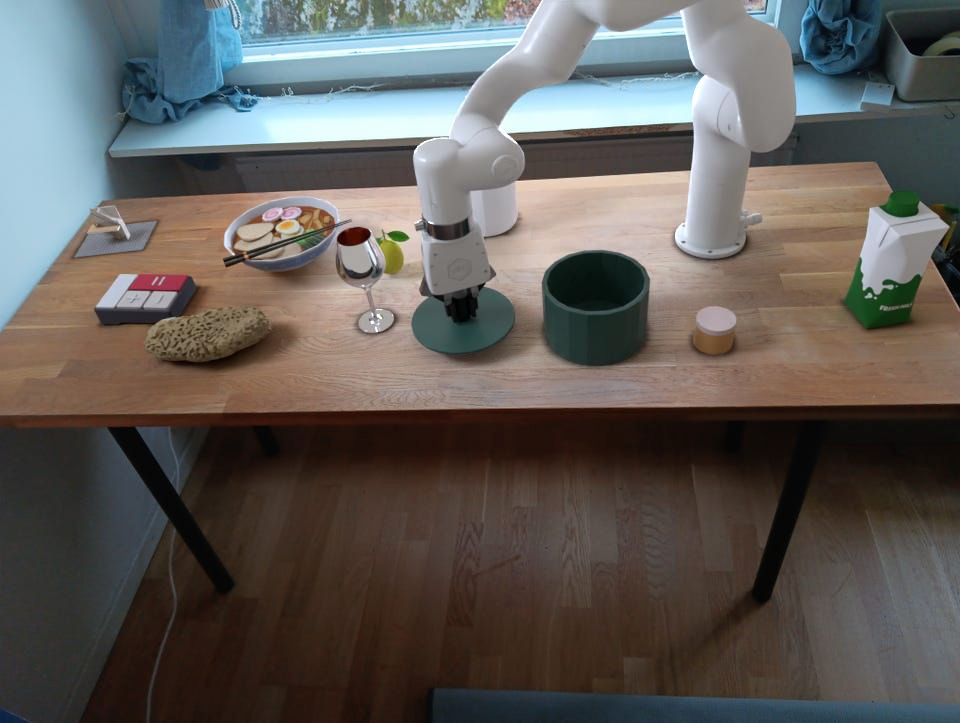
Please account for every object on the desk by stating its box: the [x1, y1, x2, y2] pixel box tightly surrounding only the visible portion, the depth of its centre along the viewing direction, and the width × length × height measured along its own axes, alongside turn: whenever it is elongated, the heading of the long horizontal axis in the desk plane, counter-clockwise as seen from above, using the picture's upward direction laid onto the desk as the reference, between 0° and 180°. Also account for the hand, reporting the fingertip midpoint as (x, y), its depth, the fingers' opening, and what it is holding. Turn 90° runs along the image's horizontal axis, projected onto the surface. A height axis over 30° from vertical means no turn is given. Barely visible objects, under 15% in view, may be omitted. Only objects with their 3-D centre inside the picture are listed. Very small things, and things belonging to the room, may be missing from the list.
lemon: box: [374, 229, 411, 275], centre depth 135 cm, size 7×6×10 cm
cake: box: [692, 305, 738, 356], centre depth 114 cm, size 6×6×5 cm
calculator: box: [93, 273, 197, 326], centre depth 137 cm, size 11×4×15 cm
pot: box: [541, 249, 651, 367], centre depth 117 cm, size 17×17×11 cm
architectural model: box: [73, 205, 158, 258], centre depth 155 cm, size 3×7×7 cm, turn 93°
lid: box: [410, 286, 516, 356], centre depth 121 cm, size 18×18×6 cm
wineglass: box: [335, 225, 395, 334], centre depth 122 cm, size 8×8×18 cm
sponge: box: [143, 305, 272, 363], centre depth 125 cm, size 13×8×20 cm
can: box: [470, 181, 519, 238], centre depth 142 cm, size 12×12×20 cm
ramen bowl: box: [222, 195, 353, 272], centre depth 143 cm, size 25×23×8 cm
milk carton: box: [843, 189, 951, 330], centre depth 110 cm, size 9×9×20 cm
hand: (462, 314), depth 122 cm, fingers closed on lid, 2 cm apart
